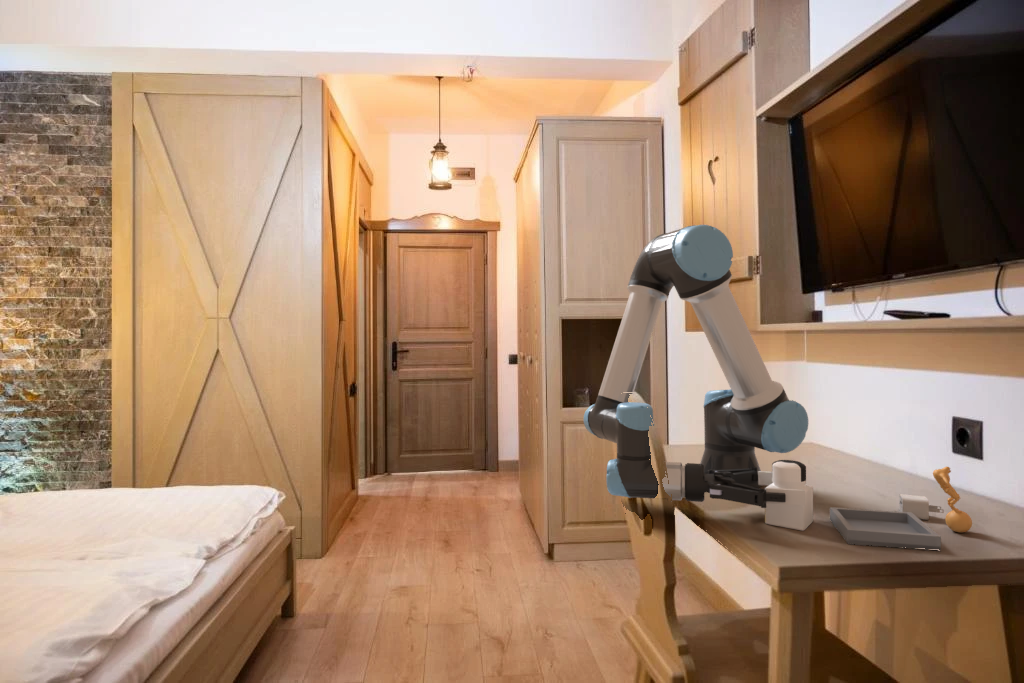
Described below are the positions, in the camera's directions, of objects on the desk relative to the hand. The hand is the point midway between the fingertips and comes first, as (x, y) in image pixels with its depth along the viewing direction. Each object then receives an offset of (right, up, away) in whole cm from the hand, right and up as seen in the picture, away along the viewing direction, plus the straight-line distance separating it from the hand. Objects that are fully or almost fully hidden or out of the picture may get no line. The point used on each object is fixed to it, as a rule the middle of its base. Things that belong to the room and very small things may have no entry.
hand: (798, 488), depth 116 cm
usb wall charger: (+26, -7, +3) cm, 27 cm away
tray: (+12, -7, -6) cm, 15 cm away
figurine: (+26, -7, -5) cm, 27 cm away
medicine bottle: (-1, -7, +1) cm, 7 cm away
